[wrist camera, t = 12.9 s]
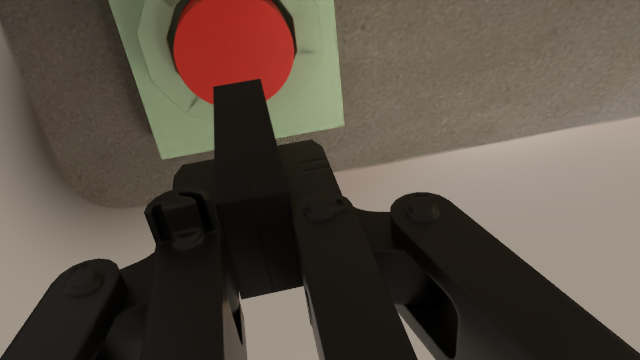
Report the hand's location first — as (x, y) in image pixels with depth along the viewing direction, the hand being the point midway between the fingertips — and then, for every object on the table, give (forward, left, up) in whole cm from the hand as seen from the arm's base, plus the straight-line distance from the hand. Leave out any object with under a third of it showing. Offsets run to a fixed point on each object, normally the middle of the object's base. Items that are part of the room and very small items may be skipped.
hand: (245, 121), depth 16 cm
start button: (0, 0, -8) cm, 8 cm away
